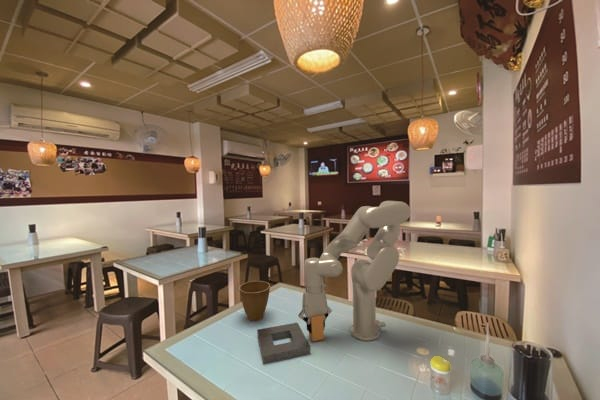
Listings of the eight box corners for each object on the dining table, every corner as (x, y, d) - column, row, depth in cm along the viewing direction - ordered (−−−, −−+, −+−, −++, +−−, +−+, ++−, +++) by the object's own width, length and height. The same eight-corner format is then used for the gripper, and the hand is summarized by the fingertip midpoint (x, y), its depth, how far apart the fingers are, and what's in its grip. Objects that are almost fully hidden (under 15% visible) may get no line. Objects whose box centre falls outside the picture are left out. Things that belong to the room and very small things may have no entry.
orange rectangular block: (319, 332, 108) (318, 309, 107) (324, 338, 103) (323, 315, 103) (308, 334, 106) (307, 311, 106) (312, 341, 102) (311, 317, 101)
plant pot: (234, 324, 117) (233, 291, 116) (248, 309, 131) (247, 279, 131) (264, 327, 114) (263, 293, 113) (274, 312, 128) (274, 281, 127)
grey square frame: (297, 328, 112) (297, 322, 112) (310, 353, 95) (310, 346, 95) (257, 336, 107) (257, 329, 107) (263, 364, 90) (263, 356, 89)
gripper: (329, 282, 110) (331, 322, 111) (292, 287, 105) (294, 329, 106) (336, 288, 103) (338, 331, 104) (297, 294, 98) (299, 339, 99)
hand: (316, 329), depth 105 cm, fingers closed on orange rectangular block, 5 cm apart
